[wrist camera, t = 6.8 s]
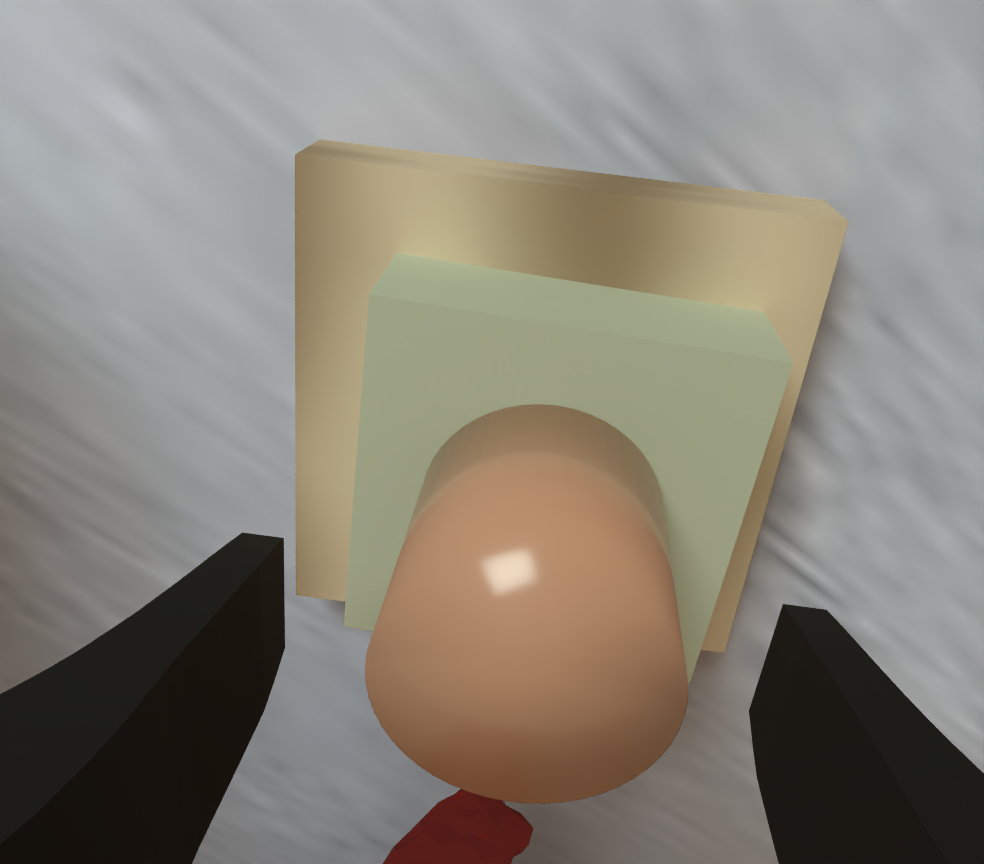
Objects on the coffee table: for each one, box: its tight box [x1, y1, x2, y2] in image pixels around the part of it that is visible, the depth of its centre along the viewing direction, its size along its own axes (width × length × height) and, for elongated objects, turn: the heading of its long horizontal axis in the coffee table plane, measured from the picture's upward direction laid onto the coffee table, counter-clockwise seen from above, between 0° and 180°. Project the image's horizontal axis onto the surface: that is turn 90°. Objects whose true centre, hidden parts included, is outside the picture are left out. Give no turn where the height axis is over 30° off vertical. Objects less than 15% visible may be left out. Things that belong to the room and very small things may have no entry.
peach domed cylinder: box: [365, 404, 688, 804], centre depth 14 cm, size 4×4×4 cm
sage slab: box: [344, 253, 793, 684], centre depth 17 cm, size 7×7×2 cm
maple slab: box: [295, 140, 849, 653], centre depth 19 cm, size 10×10×2 cm
